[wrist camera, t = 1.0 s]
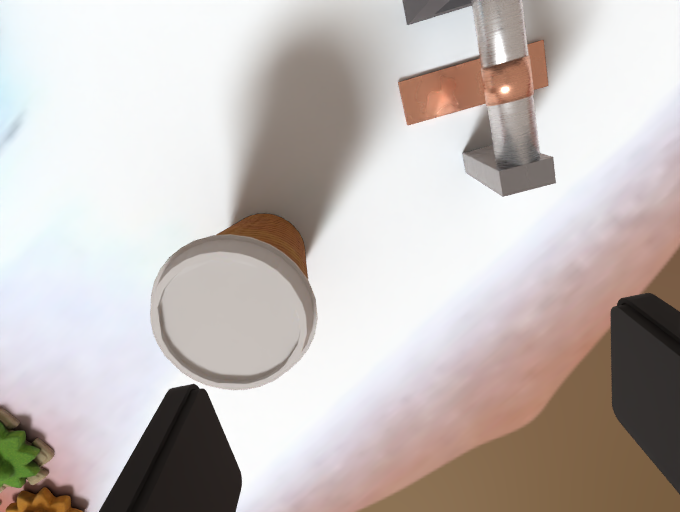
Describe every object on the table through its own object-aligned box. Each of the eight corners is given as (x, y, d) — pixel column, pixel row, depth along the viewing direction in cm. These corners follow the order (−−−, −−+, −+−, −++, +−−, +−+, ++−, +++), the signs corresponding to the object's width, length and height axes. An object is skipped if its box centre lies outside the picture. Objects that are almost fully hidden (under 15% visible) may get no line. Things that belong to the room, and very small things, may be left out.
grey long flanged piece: (352, -132, 26) (355, -226, 19) (518, -190, 25) (594, -314, 18) (419, 184, 33) (442, 212, 25) (553, 149, 32) (620, 166, 24)
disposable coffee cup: (341, 284, 36) (340, 370, 25) (236, 317, 37) (189, 414, 26) (299, 175, 33) (276, 217, 22) (186, 216, 34) (108, 275, 23)
